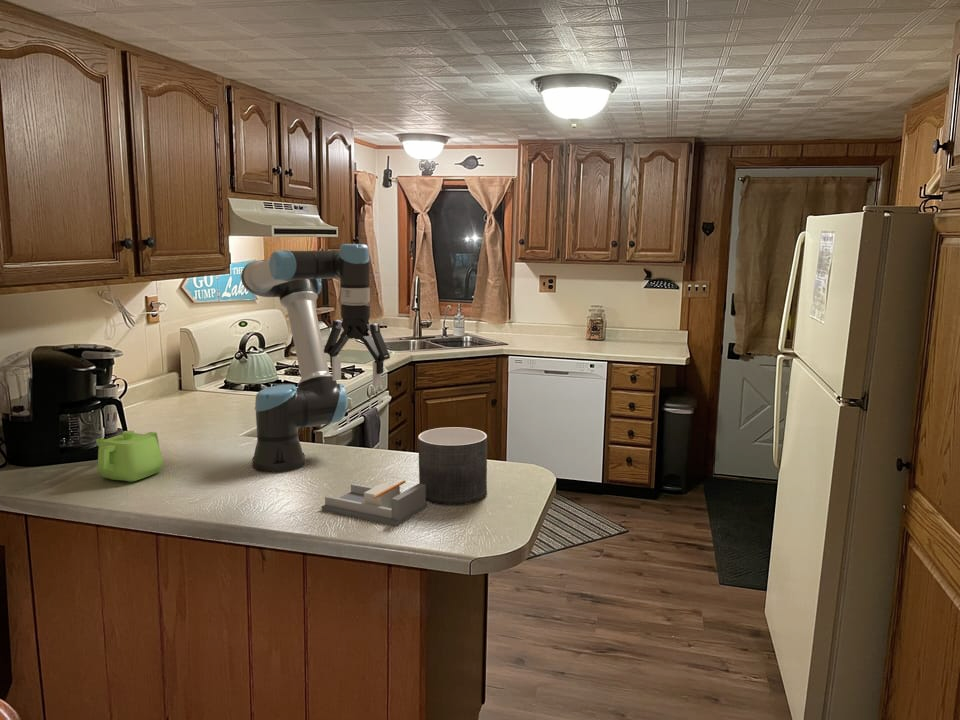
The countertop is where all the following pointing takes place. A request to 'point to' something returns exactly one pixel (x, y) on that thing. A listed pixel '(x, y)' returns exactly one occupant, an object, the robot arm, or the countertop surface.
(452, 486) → the planter
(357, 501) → the gauge base
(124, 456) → the teapot
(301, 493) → the countertop surface
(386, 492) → the cream box orange strip
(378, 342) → the robot arm
